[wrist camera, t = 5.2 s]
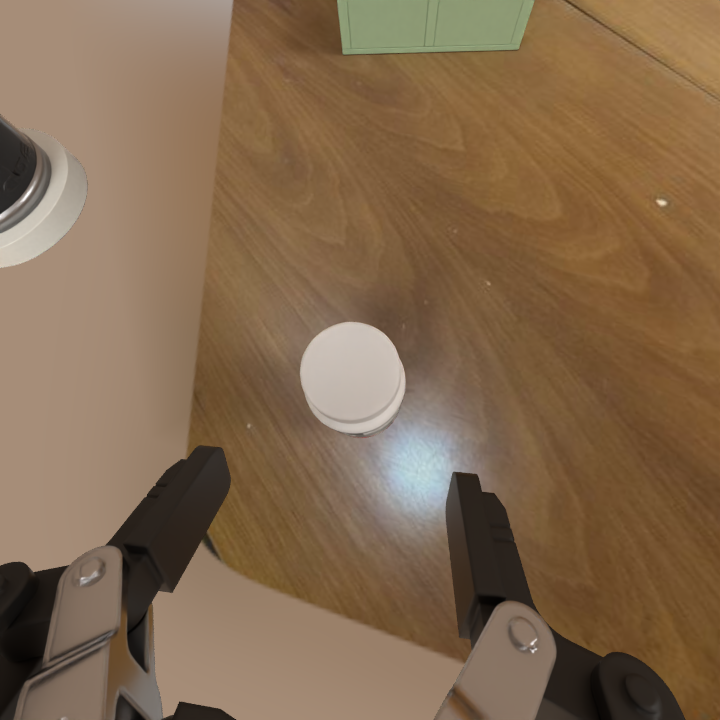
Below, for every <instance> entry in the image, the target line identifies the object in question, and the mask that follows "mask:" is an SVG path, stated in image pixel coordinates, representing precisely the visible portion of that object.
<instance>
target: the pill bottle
mask: <svg viewBox="0 0 720 720" xmlns="http://www.w3.org/2000/svg"><path fill="white" fill-rule="evenodd" d="M300 379H301V384H302V388H303V390H304V393H305V397H306V400H307V403H308V405H309V407H310V409H311V411H312V412H313V413H314V415H315V416H316V417H317V418H318V419H319V420H320V421H321V422H322V423H323V424H325V425H326V426H328V427H330V428H332V429H334V430H336V431H339V432H341V433H344V434H346V435H349V436H352V437H357V438H366V437H371V436H374V435H377V434H379V433H381V432H383V431H384V430H386V429H387V428H388V427H389V426H390V425H391V424H392V423H393V421H394V420H395V418H396V416H397V414H398V411H399V408H400V405H401V403H402V401H403V397H404V393H405V384H406V383H405V372H404V368H403V365H402V363H401V361H400V359H399V356H398V353H397V350H396V348H395V346H394V345H393V343H392V342H391V340H390V339H389V338H388V337H387V336H386V335H385V334H384V333H383V332H381V331H380V330H378V329H377V328H375V327H373V326H370V325H368V324H364V323H360V322H343V323H339V324H336V325H333V326H330V327H328V328H326V329H325V330H323V331H322V332H320V333H319V334H318V335H317V336H316V337H315V338H314V339H313V340H312V341H311V342H310V344H309V345H308V347H307V348H306V350H305V352H304V355H303V357H302V361H301V366H300Z"/></svg>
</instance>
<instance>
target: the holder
mask: <svg viewBox="0 0 720 720" xmlns="http://www.w3.org/2000/svg"><path fill="white" fill-rule="evenodd" d="M534 1H535V0H337V5H338V14H339V23H340V32H341V41H342V48H343V49H342V51H343V55H345V54H382V53H418V52H454V51H491V50H518V49H519V47H520V43H521V40H522V37H523V34H524V31H525V28H526V25H527V22H528V19H529V16H530V13H531V10H532V7H533V4H534Z"/></svg>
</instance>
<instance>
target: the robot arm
mask: <svg viewBox="0 0 720 720" xmlns="http://www.w3.org/2000/svg"><path fill="white" fill-rule="evenodd" d="M50 179H51V163H50V159H49V157H48V155H47V154H46V152H45V151H44V150H43V149H42V148H41V147H40V146H39V145H38V144H36V143H35V142H34V141H33V140H32V139H31V138H30V137H28V136H27V135H26V134H24V133H22V132H20V131H19V130H18V129H17V128H16V127H15V126H13V125H12V124H11V123H10V122H9V121H8V120H7V119H5V118H4V117H3V116H2V115H1V114H0V233H2V232H4V231H6V230H8V229H10V228H12V227H13V226H15V225H16V224H18V223H19V222H21V221H22V220H23V219H24V218H26V217H27V216H28V215H29V214H30V213H31V212H32V211H33V210H34V209H35V208H36V206H37V205H38V204H39V203H40V201H41V200H42V198H43V196H44V195H45V193H46V191H47V189H48V186H49V183H50ZM230 482H231V477H230V473H229V469H228V466H227V462H226V458H225V454H224V451H223V449H222V448H221V447H211V446H201V445H200V446H198V447H196V448H195V449H194V451H193V452H192V453H191V455H190V456H189V457H188V459H187V460H184V459H181V460H180V461H178V462H177V463H176V464H174V465H173V466H172V467H170V468H169V469H168V470H166V472H165V473H164V474H163V476H161V478H160V479H159V480H158V481H157V483H156V486H153V488H152V489H151V490H150V491H149V493H148V494H147V497H145V498H144V499H143V500H142V501H141V503H140V504H139V505H138V506H137V508H136V509H135V510H134V511H133V512H132V514H131V515H130V516H129V517H128V519H127V520H126V521H125V522H124V524H123V525H122V526H121V528H120V529H119V530H118V531H117V532H116V534H115V535H114V536H113V537H112V539H111V540H110V541H109V542H108V543H107V544H106V545H105V546H101V547H97V548H94V549H92V550H90V551H88V552H86V553H84V554H83V555H82V556H80V557H78V558H77V559H76V560H75V561H74V562H72V564H71V565H68V566H63V567H58V568H53V569H48V570H42V571H38V572H33V571H32V570H31V569H30V568H29V567H28V566H27V565H26V564H25V563H23V562H11V563H7V564H4V565H1V566H0V720H236V719H234V718H233V717H231V716H230V715H228V714H227V713H225V712H224V711H223V710H221V709H218V708H212V707H207V706H201V705H196V704H191V703H185V702H179V704H178V706H177V709H176V711H175V713H174V715H171V716H168V717H166V718H163V713H162V703H161V697H160V693H159V689H158V686H157V682H156V677H155V657H154V626H153V605H152V601H153V599H154V597H155V595H156V594H157V592H158V591H163V592H170V593H172V592H173V590H174V589H175V587H176V585H177V584H178V582H179V580H180V578H181V576H182V574H183V573H184V571H185V569H186V567H187V565H188V564H189V562H190V560H191V558H192V557H193V555H194V553H195V551H196V549H197V548H198V546H199V544H200V542H201V540H202V539H203V537H204V535H205V533H206V531H207V530H208V528H209V526H210V524H211V523H212V521H213V519H214V517H215V515H216V514H217V512H218V510H219V508H220V506H221V505H222V503H223V501H224V499H225V497H226V496H227V494H228V491H229V488H230ZM446 525H447V534H448V543H449V551H450V560H451V569H452V578H453V586H454V595H455V604H456V613H457V622H458V630H459V638H466V639H470V640H471V647H472V652H471V654H470V655H469V657H468V659H467V661H466V663H465V665H464V667H463V669H462V670H461V672H460V674H459V676H458V678H457V680H456V682H455V683H454V685H453V687H452V688H451V690H450V691H449V693H448V694H447V696H446V698H445V700H444V701H443V703H442V706H441V707H440V709H439V710H438V712H437V714H436V716H435V718H434V720H685V718H684V715H683V713H682V711H681V709H680V707H679V705H678V703H677V701H676V699H675V697H674V695H673V694H672V692H671V691H670V689H669V688H668V686H667V685H666V684H665V683H664V681H663V680H662V679H661V678H660V677H659V676H658V675H657V674H656V673H655V672H654V671H653V670H652V669H651V668H650V667H649V666H647V665H646V664H645V663H643V662H642V661H640V660H639V659H637V658H635V657H633V656H631V655H629V654H626V653H622V652H612V653H609V654H607V655H606V656H605V657H601V656H599V655H597V654H595V653H593V652H591V651H589V650H587V649H585V648H583V647H581V646H579V645H577V644H575V643H573V642H571V641H569V640H568V639H566V638H564V637H562V636H561V635H560V634H558V633H557V632H556V631H554V630H553V629H552V628H551V627H550V626H549V625H548V624H547V623H546V622H545V621H544V619H543V618H542V617H541V615H540V614H539V612H538V611H537V609H536V607H535V605H534V603H533V600H532V598H531V594H530V591H529V588H528V584H527V581H526V577H525V574H524V571H523V567H522V564H521V560H520V557H519V554H518V550H517V547H516V543H514V537H513V533H512V530H511V529H510V523H509V520H508V516H507V513H506V509H505V507H504V506H503V505H502V503H501V502H500V501H499V499H498V498H497V496H496V495H495V494H494V493H488V492H482V490H481V486H480V481H479V478H478V475H477V474H472V473H462V472H453V474H452V477H451V482H450V487H449V491H448V496H447V501H446Z"/></svg>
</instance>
